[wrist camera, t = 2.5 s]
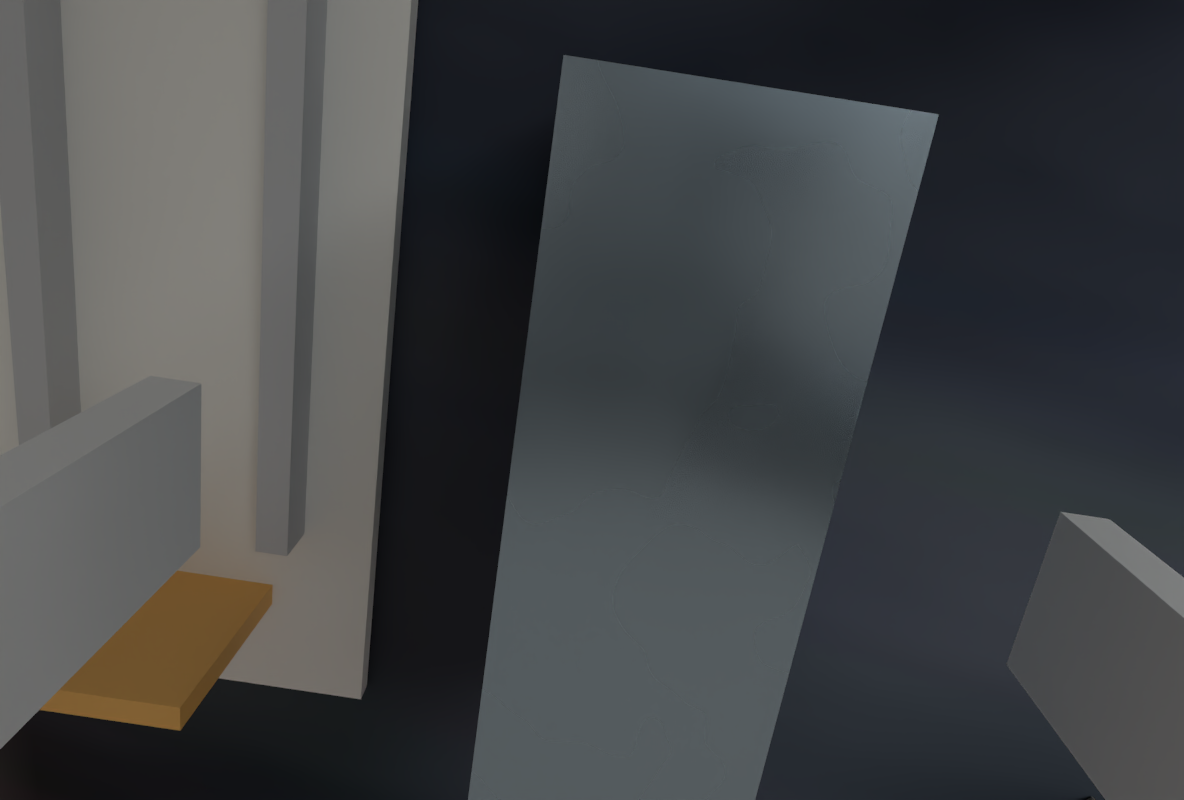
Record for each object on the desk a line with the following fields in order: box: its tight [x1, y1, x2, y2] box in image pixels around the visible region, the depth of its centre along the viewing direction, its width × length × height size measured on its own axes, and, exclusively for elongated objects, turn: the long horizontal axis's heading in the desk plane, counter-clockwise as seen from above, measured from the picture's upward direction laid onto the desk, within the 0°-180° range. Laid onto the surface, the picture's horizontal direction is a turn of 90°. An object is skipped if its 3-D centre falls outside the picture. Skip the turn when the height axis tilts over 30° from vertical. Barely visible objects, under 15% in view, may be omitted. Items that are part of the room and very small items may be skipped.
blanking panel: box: [468, 55, 939, 800], centre depth 15 cm, size 12×4×12 cm, turn 171°
